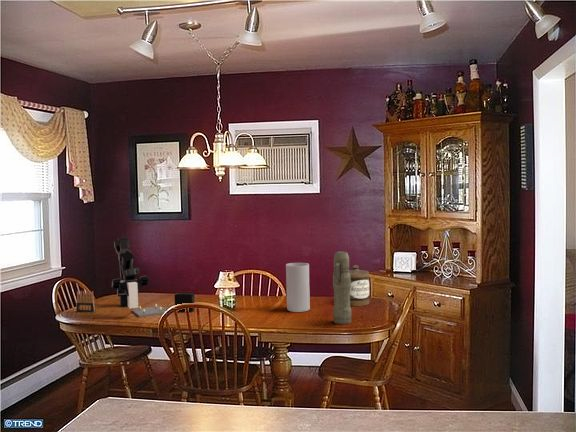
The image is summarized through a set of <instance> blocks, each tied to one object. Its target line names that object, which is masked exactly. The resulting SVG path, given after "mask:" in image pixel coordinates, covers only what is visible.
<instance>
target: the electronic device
mask: <svg viewBox="0 0 576 432" xmlns="http://www.w3.org/2000/svg"><path fill="white" fill-rule="evenodd" d="M195 298H196V297H195V293H194V292H177V293H175V294H174V306H175V305H177V304H182V303H194V302H195ZM195 303H196V302H195ZM195 310H196V308H195V309H194V308H189V312H188V313H192V312H194V311H195ZM177 313H186V312H185V309H182V310H179V311H178V312H177Z"/></svg>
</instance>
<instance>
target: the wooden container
mask: <svg viewBox="0 0 576 432" xmlns="http://www.w3.org/2000/svg"><path fill="white" fill-rule="evenodd" d="M359 268H360V266H359V265H358V264H354V265H352V269H349V273H350V276H351V288H350V307H363V306H367V305H369V304H370V272H369V271H368V270H364V269H359Z"/></svg>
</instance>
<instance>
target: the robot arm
mask: <svg viewBox="0 0 576 432" xmlns="http://www.w3.org/2000/svg"><path fill="white" fill-rule="evenodd" d="M113 244H114V249H115V253H116V254H117V255H118V262H119V274H120V277H119V278H113V279H112V281H111V289H112V290H116V289H117V290H116V295H117V297H119V304H117V307H121V308H126V307H128V297H127V296H129V293H128V289H127V283H129V282H136V283H137V286H138V294H139V291H140V288H142V287H146V286H148V284H149V276H148V275H142V276H140V277H139V279H137V275H138V274H140V273H141V272H140V268H139V267H134V268H133V263H134V260H135V259H136V258H135V254H134V253H132V251H131V250H130V249H129V248H130V246H131V245H130V239H128V238H127V237H119V238H117V239H116V240H114V242H113Z"/></svg>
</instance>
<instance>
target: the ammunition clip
mask: <svg viewBox="0 0 576 432" xmlns="http://www.w3.org/2000/svg"><path fill="white" fill-rule="evenodd" d="M76 292H77V293H76V313H95V312H96V303H95V297H94V290H92V291H91V290H80V291H79V290H77V291H76Z"/></svg>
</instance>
